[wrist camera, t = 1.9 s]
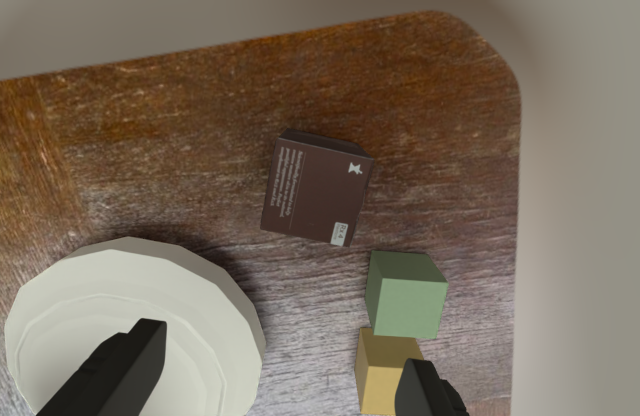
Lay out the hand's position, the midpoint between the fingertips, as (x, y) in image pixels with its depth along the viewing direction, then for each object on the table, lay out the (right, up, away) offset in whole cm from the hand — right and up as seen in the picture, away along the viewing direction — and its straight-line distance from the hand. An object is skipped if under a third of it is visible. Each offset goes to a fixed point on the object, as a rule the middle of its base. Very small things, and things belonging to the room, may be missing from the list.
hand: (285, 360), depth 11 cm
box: (+1, +8, +16) cm, 18 cm away
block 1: (+8, -1, +19) cm, 21 cm away
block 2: (+7, -9, +21) cm, 24 cm away
